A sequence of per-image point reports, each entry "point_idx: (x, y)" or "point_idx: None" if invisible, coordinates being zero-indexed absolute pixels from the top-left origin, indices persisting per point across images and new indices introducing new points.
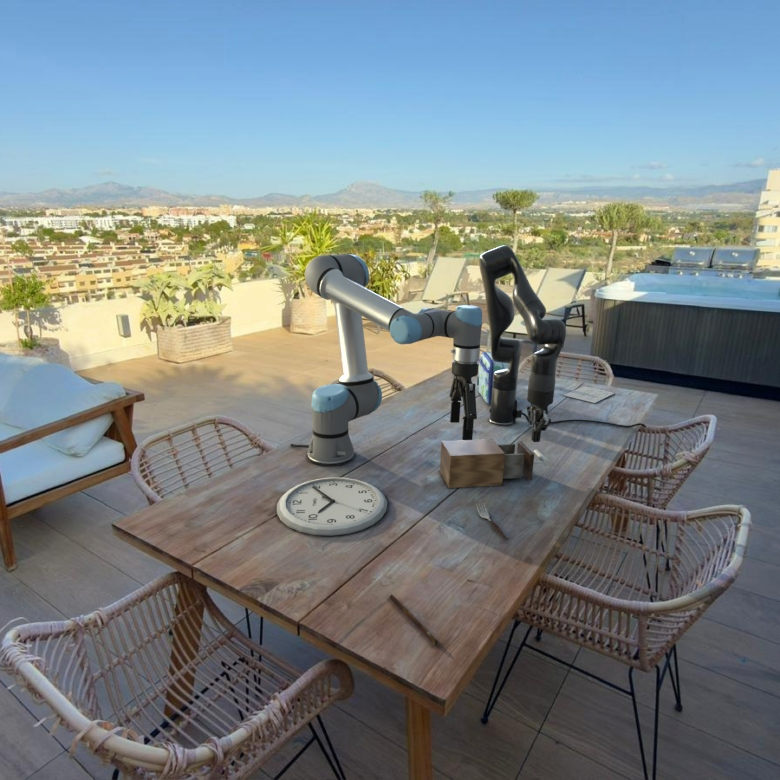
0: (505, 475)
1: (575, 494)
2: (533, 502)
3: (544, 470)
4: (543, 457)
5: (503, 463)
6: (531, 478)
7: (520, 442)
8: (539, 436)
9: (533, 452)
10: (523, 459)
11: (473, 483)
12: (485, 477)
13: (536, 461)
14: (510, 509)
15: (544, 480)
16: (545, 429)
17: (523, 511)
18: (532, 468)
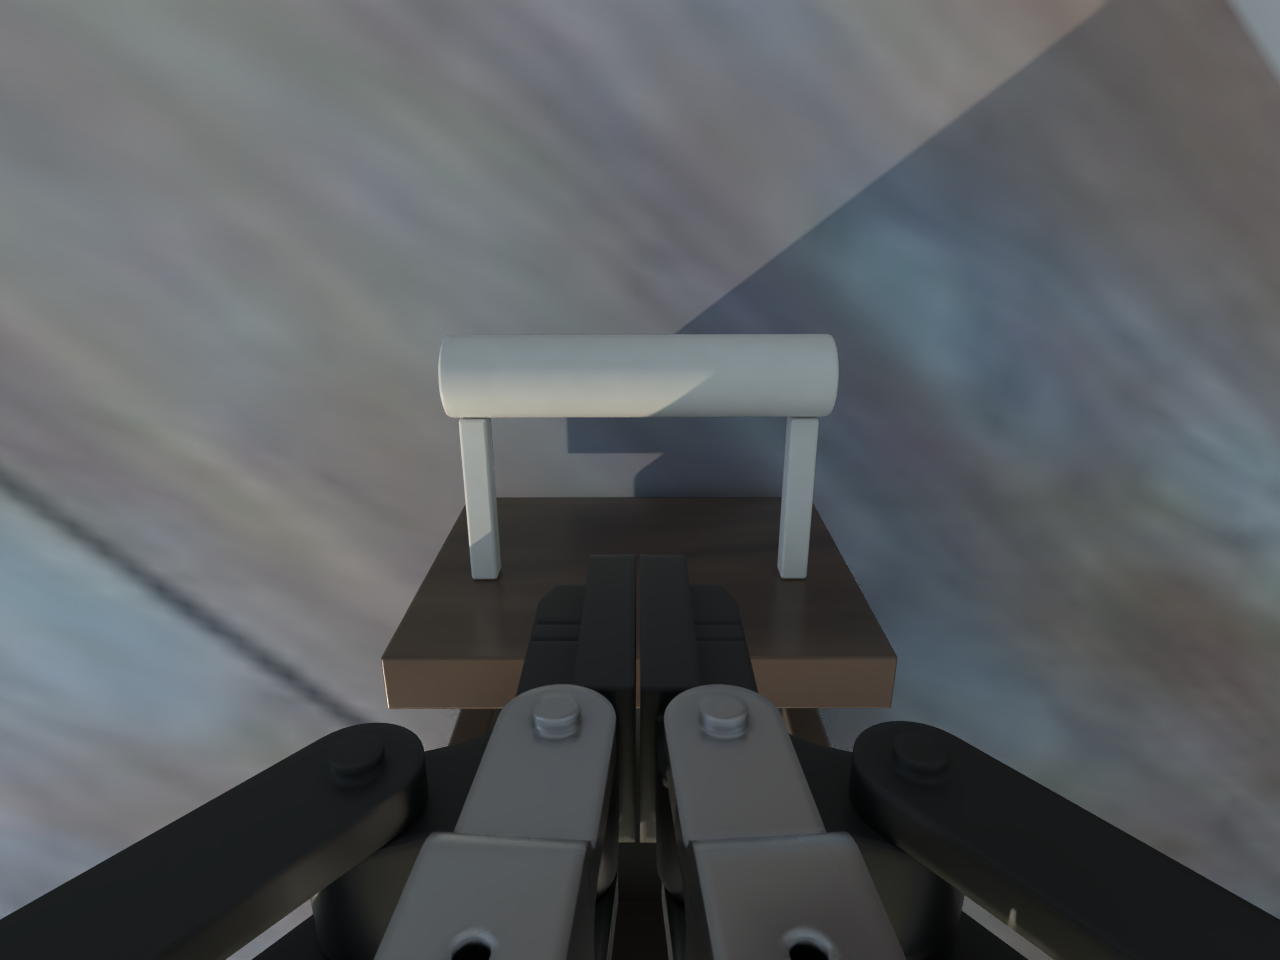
0: None
1: (1152, 126)
2: (1146, 603)
3: (542, 222)
4: (737, 398)
5: None
6: (814, 506)
7: (436, 692)
8: (746, 657)
9: (489, 432)
10: (818, 717)
11: None
12: None
13: (790, 512)
14: (1179, 797)
15: (779, 330)
16: (1019, 785)
17: (1242, 724)
18: (842, 558)
